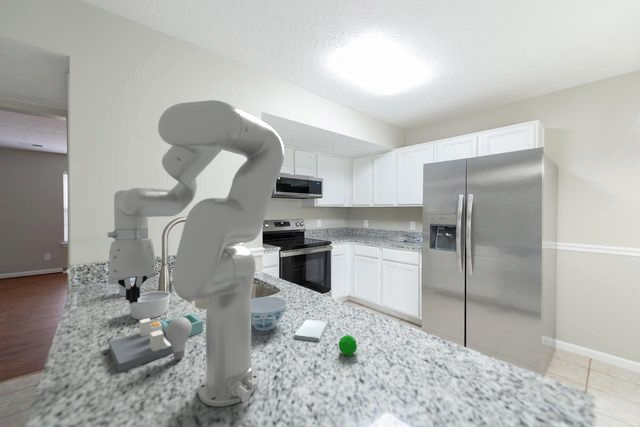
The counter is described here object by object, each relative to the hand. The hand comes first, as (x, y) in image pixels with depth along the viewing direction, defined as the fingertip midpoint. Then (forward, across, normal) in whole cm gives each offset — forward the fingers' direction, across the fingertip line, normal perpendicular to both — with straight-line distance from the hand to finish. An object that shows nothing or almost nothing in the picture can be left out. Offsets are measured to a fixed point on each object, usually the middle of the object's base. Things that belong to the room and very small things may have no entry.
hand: (133, 301), depth 72 cm
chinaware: (+15, +35, -12) cm, 40 cm away
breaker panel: (+14, +2, 0) cm, 15 cm away
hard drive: (+16, +44, -26) cm, 53 cm away
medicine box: (+14, +10, +65) cm, 67 cm away
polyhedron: (+15, +41, -43) cm, 61 cm away
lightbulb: (+15, +8, -12) cm, 21 cm away
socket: (+14, +14, +4) cm, 20 cm away
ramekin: (+14, +11, +29) cm, 34 cm away
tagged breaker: (+12, +5, 0) cm, 13 cm away
